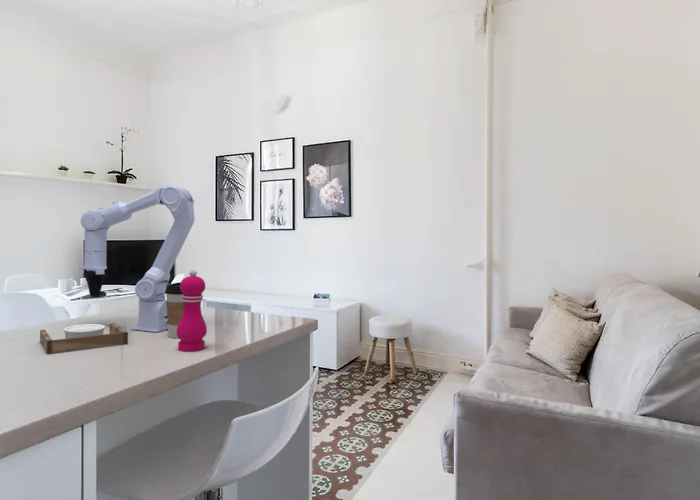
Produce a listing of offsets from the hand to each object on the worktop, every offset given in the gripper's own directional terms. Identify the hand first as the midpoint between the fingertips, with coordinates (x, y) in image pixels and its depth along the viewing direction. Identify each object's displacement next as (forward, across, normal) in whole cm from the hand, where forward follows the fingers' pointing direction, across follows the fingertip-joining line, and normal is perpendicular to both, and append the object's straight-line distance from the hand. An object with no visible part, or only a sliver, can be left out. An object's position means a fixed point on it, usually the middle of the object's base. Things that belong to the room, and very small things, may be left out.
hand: (94, 296), depth 127 cm
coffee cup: (+10, +25, +17) cm, 32 cm away
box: (+9, +19, -6) cm, 22 cm away
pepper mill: (+10, +40, +14) cm, 44 cm away
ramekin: (+10, +20, -6) cm, 23 cm away
